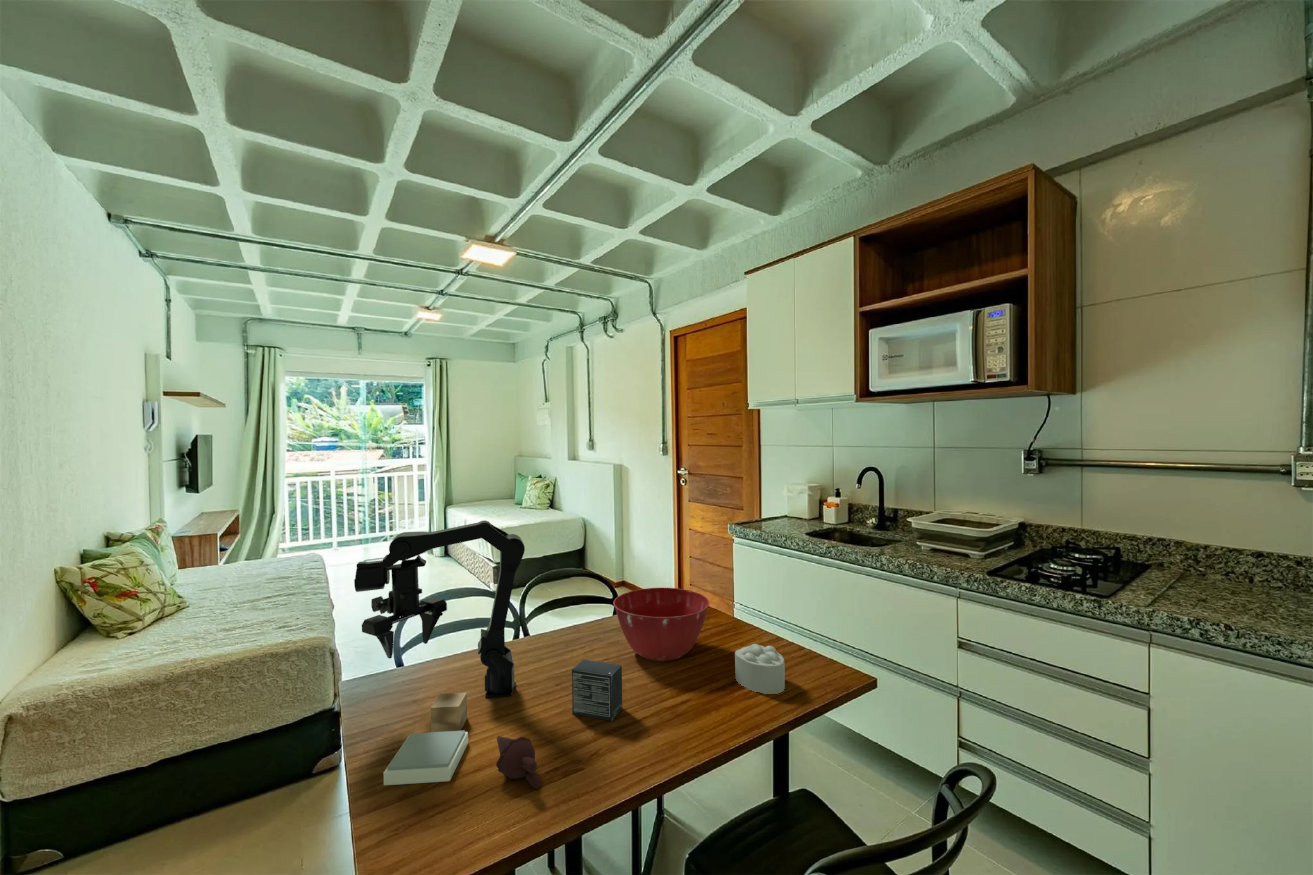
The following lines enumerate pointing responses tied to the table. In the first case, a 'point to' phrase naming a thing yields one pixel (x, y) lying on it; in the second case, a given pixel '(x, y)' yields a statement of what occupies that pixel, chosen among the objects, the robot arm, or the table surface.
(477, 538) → the robot arm
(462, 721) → the oak cube
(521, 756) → the maroon toy figure
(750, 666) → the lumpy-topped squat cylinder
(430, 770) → the pedestal
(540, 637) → the table surface
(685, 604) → the mixing bowl
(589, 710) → the small box
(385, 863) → the table surface
